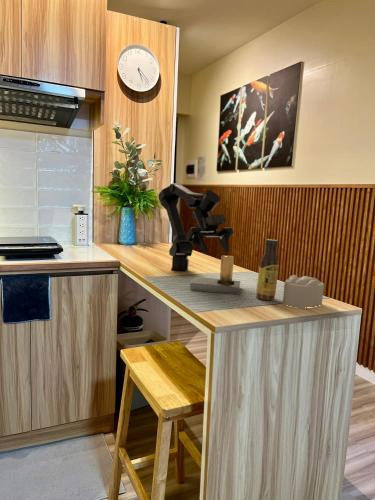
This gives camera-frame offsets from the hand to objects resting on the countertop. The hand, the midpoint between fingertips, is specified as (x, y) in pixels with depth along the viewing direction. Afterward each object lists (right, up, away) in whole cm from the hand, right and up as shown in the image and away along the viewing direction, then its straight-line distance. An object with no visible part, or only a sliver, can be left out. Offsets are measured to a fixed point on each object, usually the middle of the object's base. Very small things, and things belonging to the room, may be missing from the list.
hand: (217, 252), depth 137 cm
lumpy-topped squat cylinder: (+26, -17, -16) cm, 35 cm away
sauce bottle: (+15, -15, -13) cm, 25 cm away
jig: (-1, -13, -4) cm, 14 cm away
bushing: (+3, -13, -4) cm, 14 cm away
